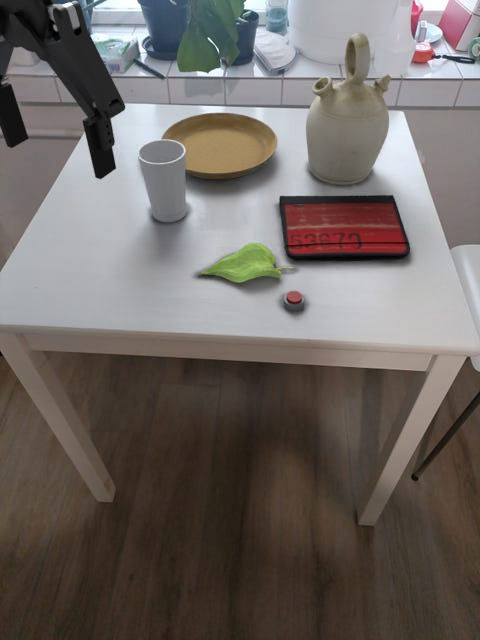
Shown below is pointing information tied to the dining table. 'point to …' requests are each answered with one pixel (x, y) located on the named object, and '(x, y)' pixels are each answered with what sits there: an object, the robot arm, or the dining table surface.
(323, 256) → the notebook
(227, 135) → the plant saucer
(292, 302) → the push button
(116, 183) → the dining table surface
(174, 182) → the cup
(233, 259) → the leaf
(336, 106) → the jug
